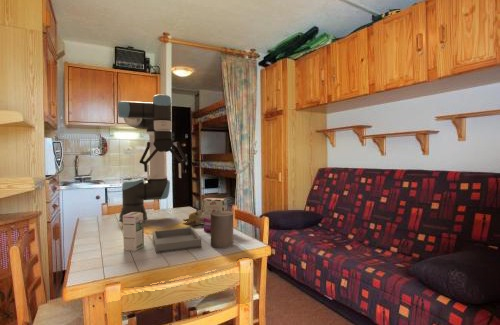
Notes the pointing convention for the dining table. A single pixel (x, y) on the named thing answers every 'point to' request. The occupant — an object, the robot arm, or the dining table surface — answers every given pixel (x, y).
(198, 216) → the ceramic sculpture
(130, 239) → the syrup box
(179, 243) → the tray
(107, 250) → the dining table surface
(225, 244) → the pillar candle
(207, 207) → the candy bar box
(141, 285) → the dining table surface
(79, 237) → the dining table surface
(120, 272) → the dining table surface
